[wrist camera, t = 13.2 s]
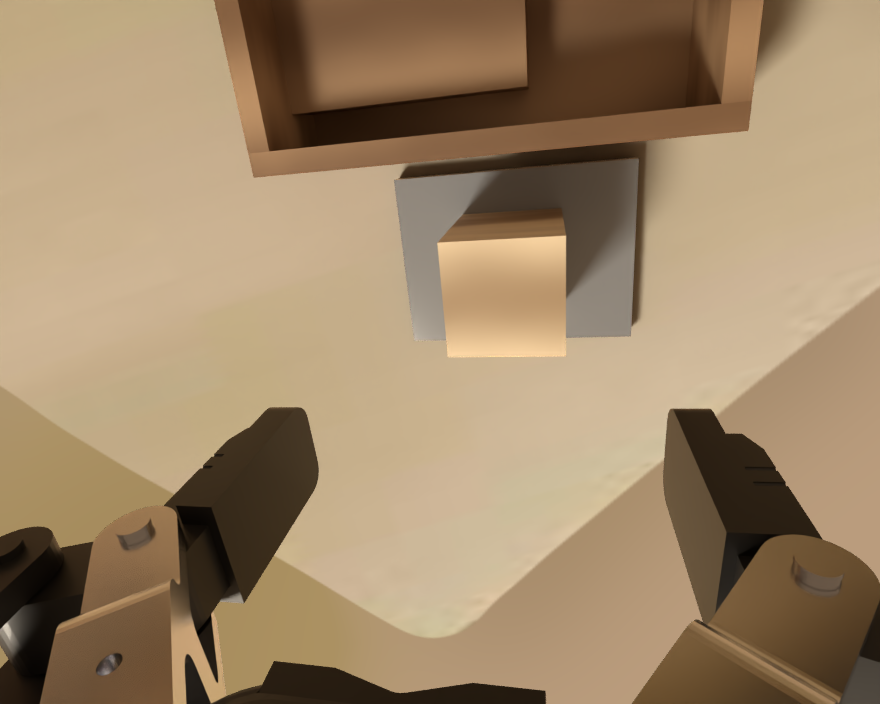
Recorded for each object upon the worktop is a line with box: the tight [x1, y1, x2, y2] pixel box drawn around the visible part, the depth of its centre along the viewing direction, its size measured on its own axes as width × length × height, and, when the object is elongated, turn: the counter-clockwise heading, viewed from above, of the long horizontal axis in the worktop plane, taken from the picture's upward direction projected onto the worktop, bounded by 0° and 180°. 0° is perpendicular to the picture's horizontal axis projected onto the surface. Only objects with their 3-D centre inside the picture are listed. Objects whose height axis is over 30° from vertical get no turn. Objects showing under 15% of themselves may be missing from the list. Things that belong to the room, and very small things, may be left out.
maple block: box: [437, 208, 566, 357], centre depth 25 cm, size 5×5×7 cm
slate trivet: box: [394, 157, 639, 341], centre depth 28 cm, size 9×12×1 cm
